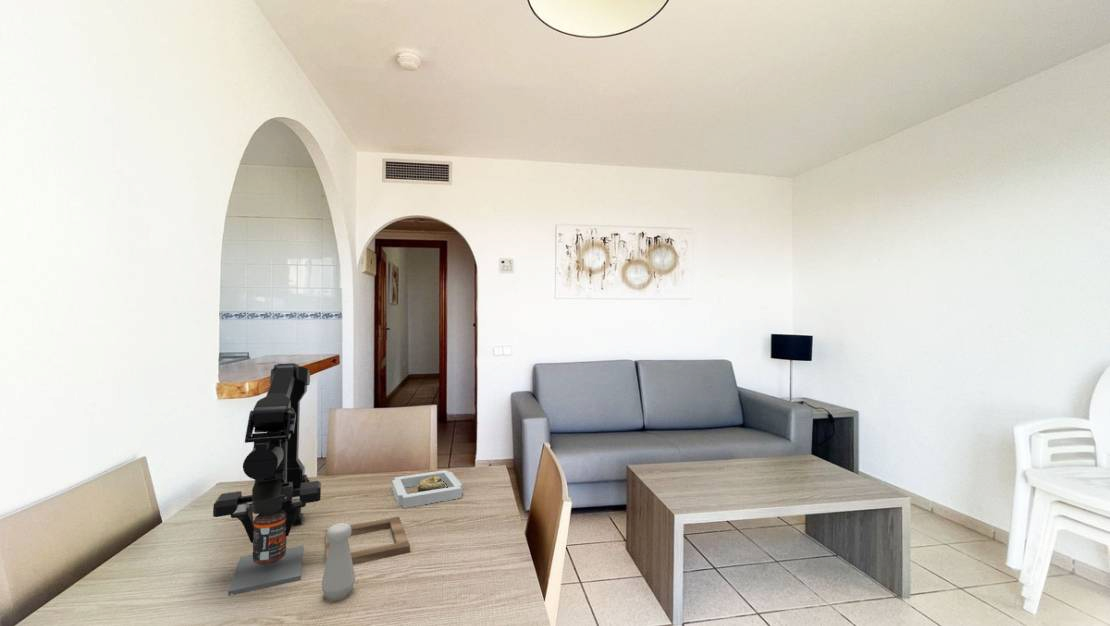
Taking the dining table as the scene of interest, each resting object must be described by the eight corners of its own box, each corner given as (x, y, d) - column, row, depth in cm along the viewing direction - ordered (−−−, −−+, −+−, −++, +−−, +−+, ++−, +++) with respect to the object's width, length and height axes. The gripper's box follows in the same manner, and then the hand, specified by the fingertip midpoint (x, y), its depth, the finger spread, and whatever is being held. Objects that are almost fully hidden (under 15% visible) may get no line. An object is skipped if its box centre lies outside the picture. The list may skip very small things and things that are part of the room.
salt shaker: (329, 586, 89) (330, 519, 89) (359, 584, 89) (359, 518, 90) (315, 604, 83) (316, 533, 83) (348, 603, 84) (349, 532, 84)
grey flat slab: (240, 560, 98) (240, 557, 98) (303, 548, 104) (303, 544, 104) (227, 595, 86) (228, 591, 86) (300, 579, 91) (300, 575, 91)
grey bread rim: (390, 487, 142) (391, 477, 142) (449, 478, 150) (449, 469, 150) (399, 509, 125) (399, 498, 125) (464, 497, 134) (464, 487, 134)
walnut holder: (325, 535, 110) (325, 529, 110) (398, 522, 117) (399, 516, 117) (325, 570, 94) (325, 563, 95) (409, 552, 102) (410, 545, 102)
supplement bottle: (270, 567, 91) (270, 511, 91) (245, 564, 92) (246, 508, 93) (292, 552, 97) (293, 499, 97) (269, 549, 98) (270, 497, 98)
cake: (421, 503, 132) (419, 485, 131) (412, 492, 140) (411, 475, 140) (454, 493, 137) (452, 476, 137) (443, 484, 145) (442, 467, 145)
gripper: (207, 483, 84) (205, 568, 83) (320, 468, 92) (319, 546, 92) (219, 465, 94) (218, 541, 93) (321, 454, 102) (320, 523, 102)
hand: (269, 538), depth 95 cm, fingers closed on supplement bottle, 6 cm apart
